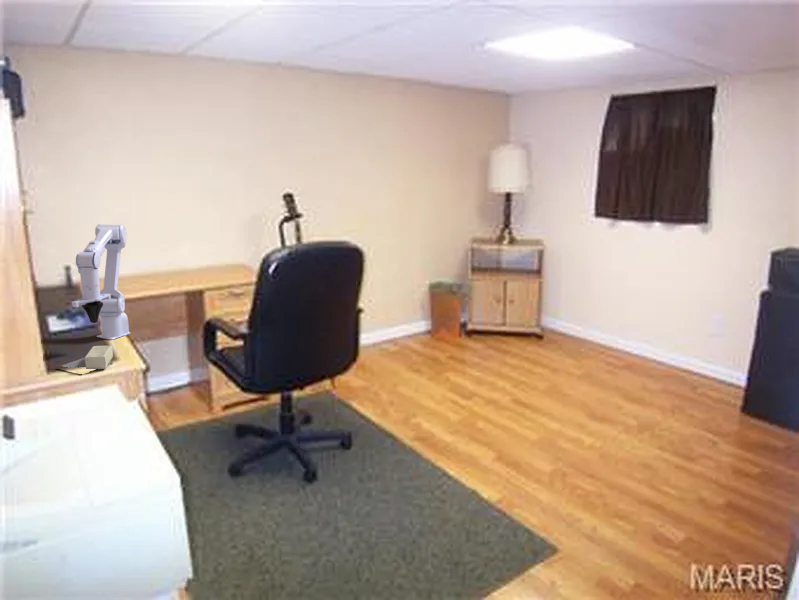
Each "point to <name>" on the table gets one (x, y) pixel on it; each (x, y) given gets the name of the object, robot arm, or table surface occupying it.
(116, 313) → the robot arm
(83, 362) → the mat
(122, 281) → the table surface
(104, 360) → the skincare box
